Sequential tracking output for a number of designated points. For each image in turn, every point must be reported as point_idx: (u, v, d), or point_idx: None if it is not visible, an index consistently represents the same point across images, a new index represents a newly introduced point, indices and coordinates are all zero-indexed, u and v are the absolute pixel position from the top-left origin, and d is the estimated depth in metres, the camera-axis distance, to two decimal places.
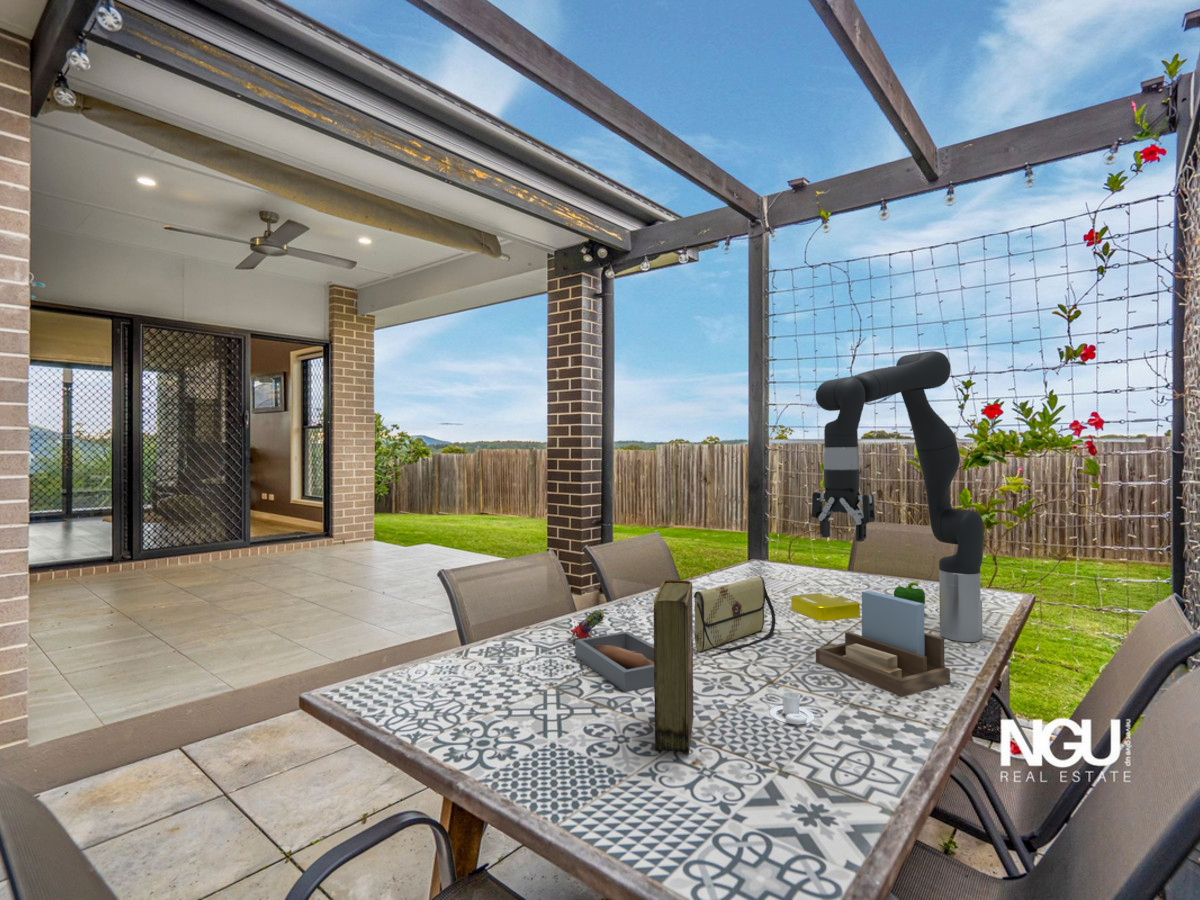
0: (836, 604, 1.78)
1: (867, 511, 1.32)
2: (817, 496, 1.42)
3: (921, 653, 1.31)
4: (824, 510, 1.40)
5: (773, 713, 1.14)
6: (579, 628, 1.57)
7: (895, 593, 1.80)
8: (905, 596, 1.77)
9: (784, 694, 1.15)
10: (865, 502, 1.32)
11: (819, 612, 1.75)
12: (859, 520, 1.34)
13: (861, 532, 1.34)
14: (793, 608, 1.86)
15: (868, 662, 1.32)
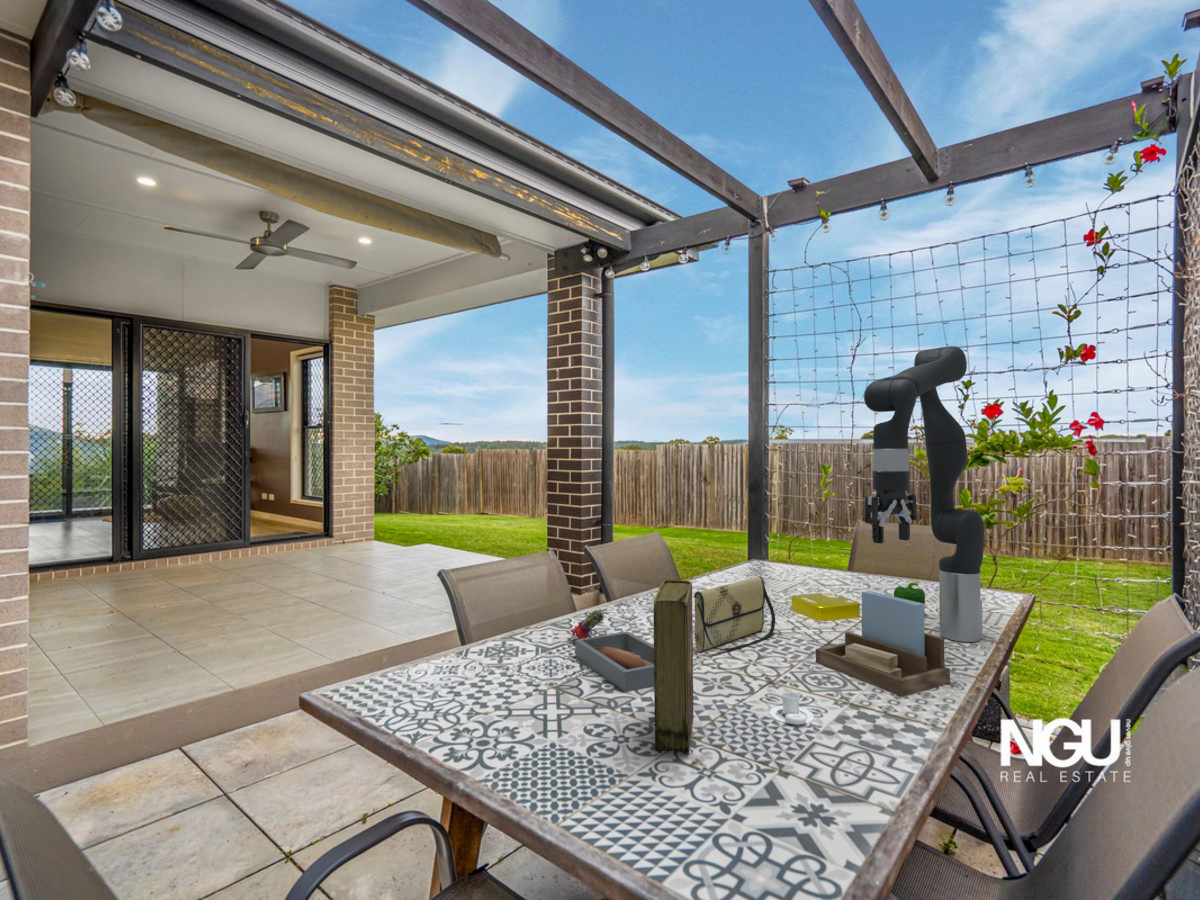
0: (836, 604, 1.78)
1: (915, 509, 1.39)
2: None
3: (921, 653, 1.31)
4: (887, 514, 1.34)
5: (773, 713, 1.14)
6: (579, 628, 1.57)
7: (895, 593, 1.80)
8: (905, 596, 1.77)
9: (784, 694, 1.15)
10: (914, 501, 1.39)
11: (819, 612, 1.75)
12: (910, 519, 1.38)
13: (909, 531, 1.39)
14: (793, 608, 1.86)
15: (869, 662, 1.32)
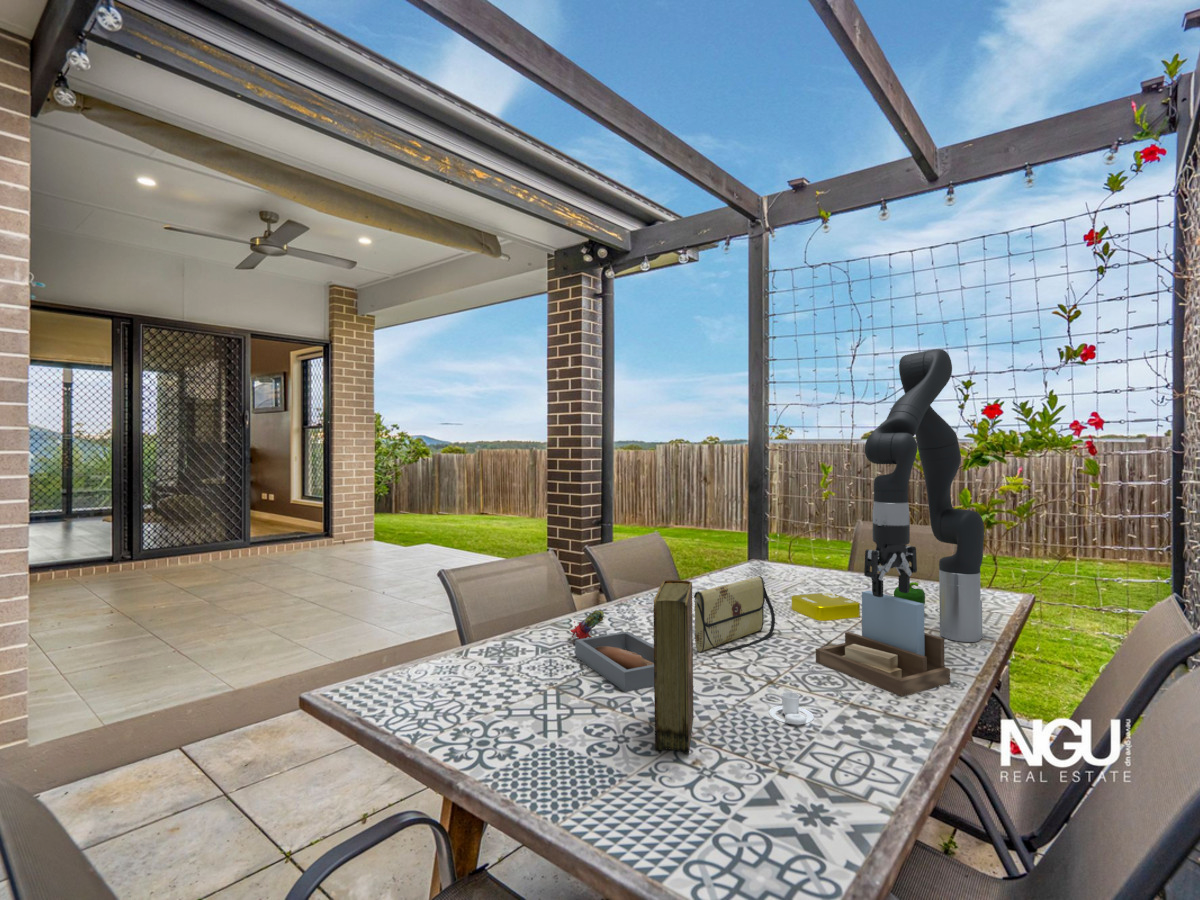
0: (836, 604, 1.78)
1: (915, 562, 1.39)
2: None
3: (921, 653, 1.31)
4: (887, 568, 1.34)
5: (772, 713, 1.14)
6: (579, 628, 1.57)
7: (895, 593, 1.80)
8: (905, 596, 1.77)
9: (783, 694, 1.15)
10: (914, 553, 1.39)
11: (819, 612, 1.75)
12: (910, 572, 1.38)
13: (908, 583, 1.39)
14: (793, 608, 1.87)
15: (869, 662, 1.32)
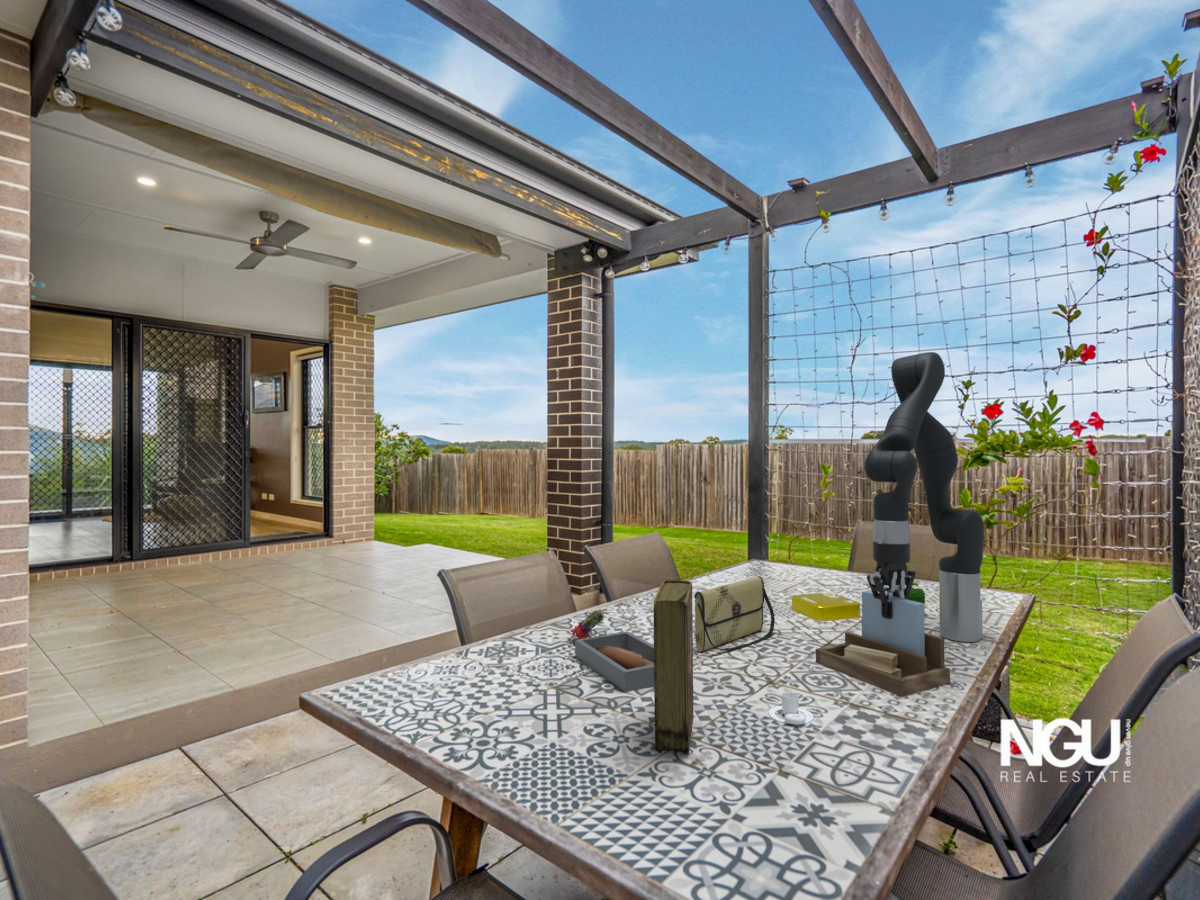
0: (836, 604, 1.78)
1: (910, 587, 1.38)
2: None
3: (921, 653, 1.31)
4: (892, 589, 1.35)
5: (772, 713, 1.14)
6: (579, 628, 1.57)
7: None
8: (905, 596, 1.77)
9: (783, 694, 1.15)
10: (912, 578, 1.38)
11: (819, 612, 1.76)
12: (903, 596, 1.37)
13: None
14: (793, 608, 1.87)
15: (870, 663, 1.32)
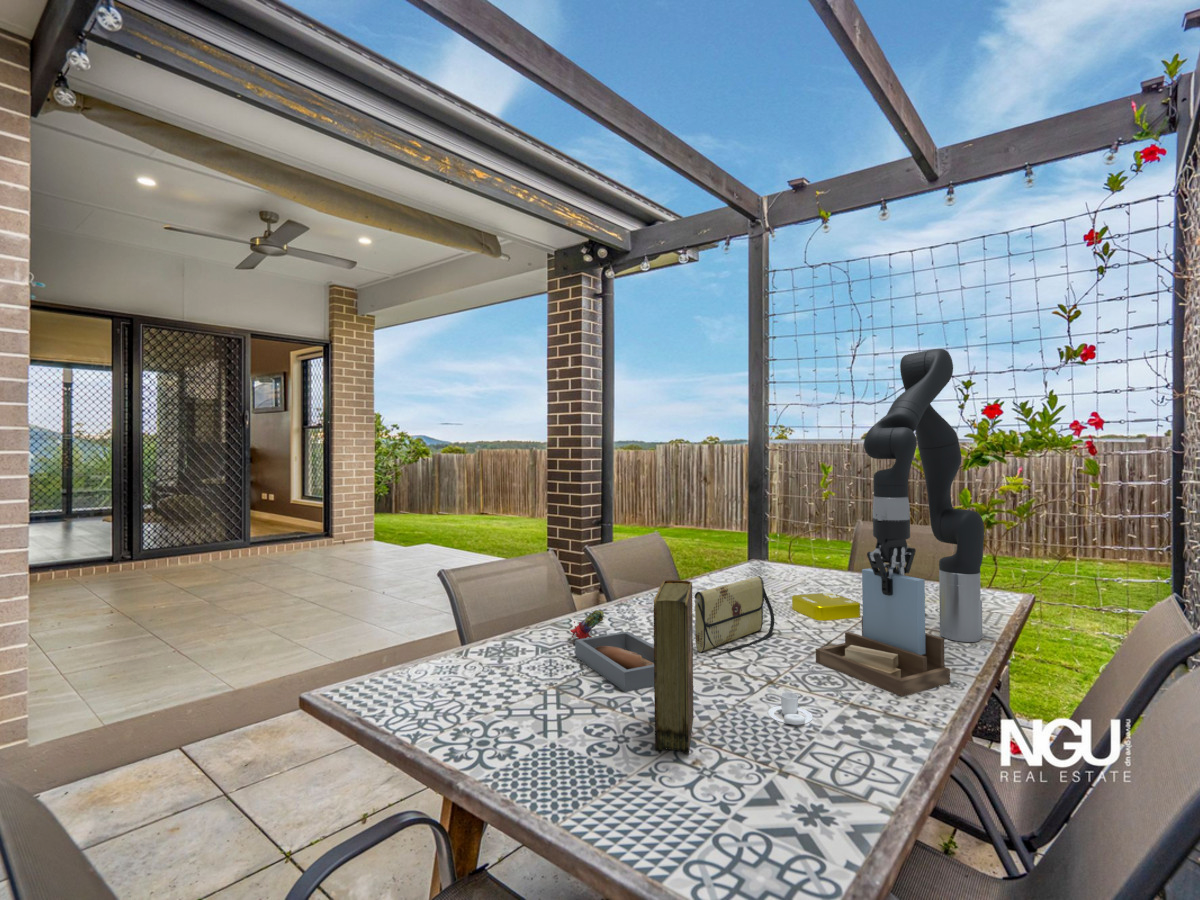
0: (836, 604, 1.78)
1: (911, 563, 1.38)
2: None
3: (922, 629, 1.31)
4: (892, 566, 1.35)
5: (771, 713, 1.14)
6: (579, 628, 1.57)
7: None
8: None
9: (782, 694, 1.15)
10: (912, 555, 1.38)
11: (818, 612, 1.76)
12: (903, 573, 1.37)
13: None
14: (794, 608, 1.87)
15: (871, 663, 1.32)
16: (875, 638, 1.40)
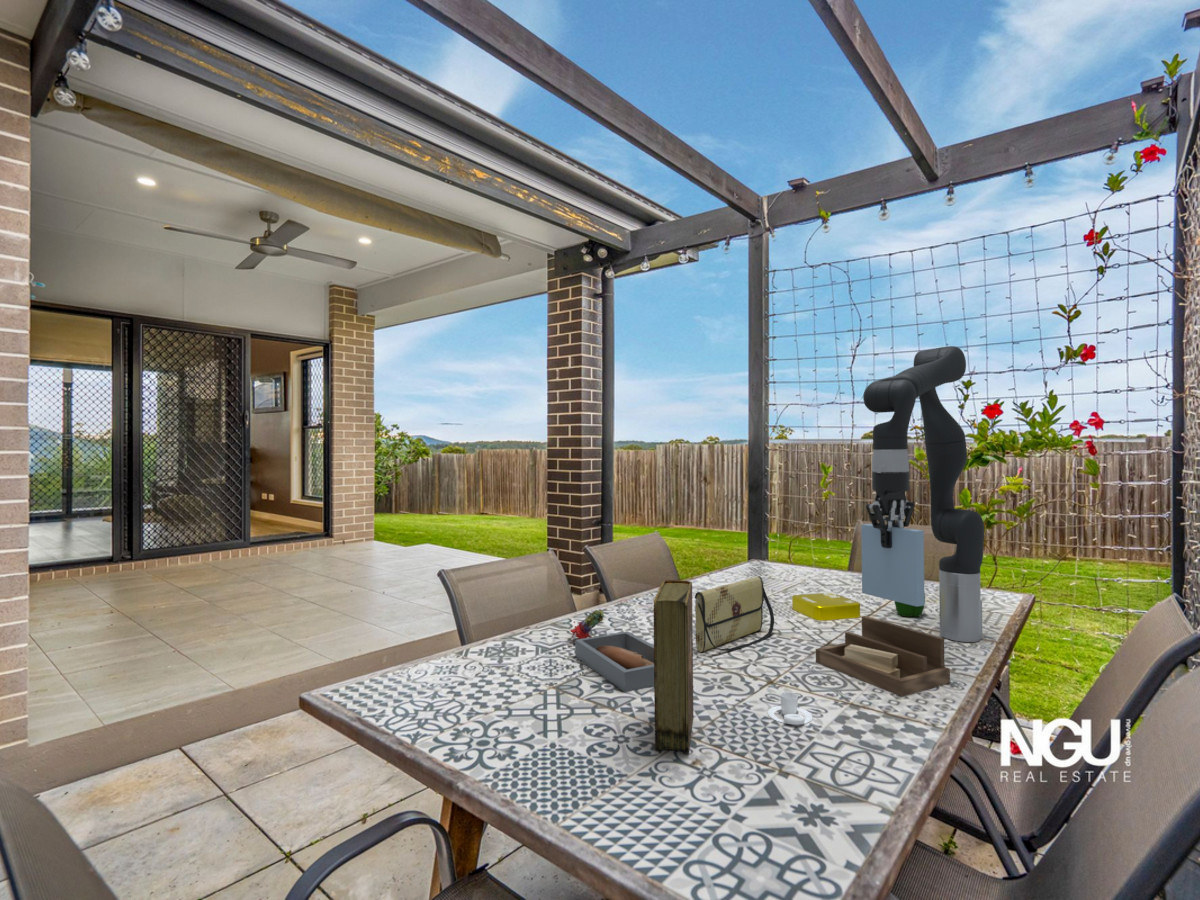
0: (836, 604, 1.78)
1: (910, 517, 1.38)
2: None
3: (921, 580, 1.31)
4: (892, 518, 1.35)
5: (771, 713, 1.14)
6: (579, 628, 1.57)
7: None
8: None
9: (782, 694, 1.15)
10: (912, 509, 1.38)
11: (818, 612, 1.76)
12: (902, 526, 1.37)
13: None
14: (794, 607, 1.87)
15: (870, 662, 1.32)
16: (874, 592, 1.40)
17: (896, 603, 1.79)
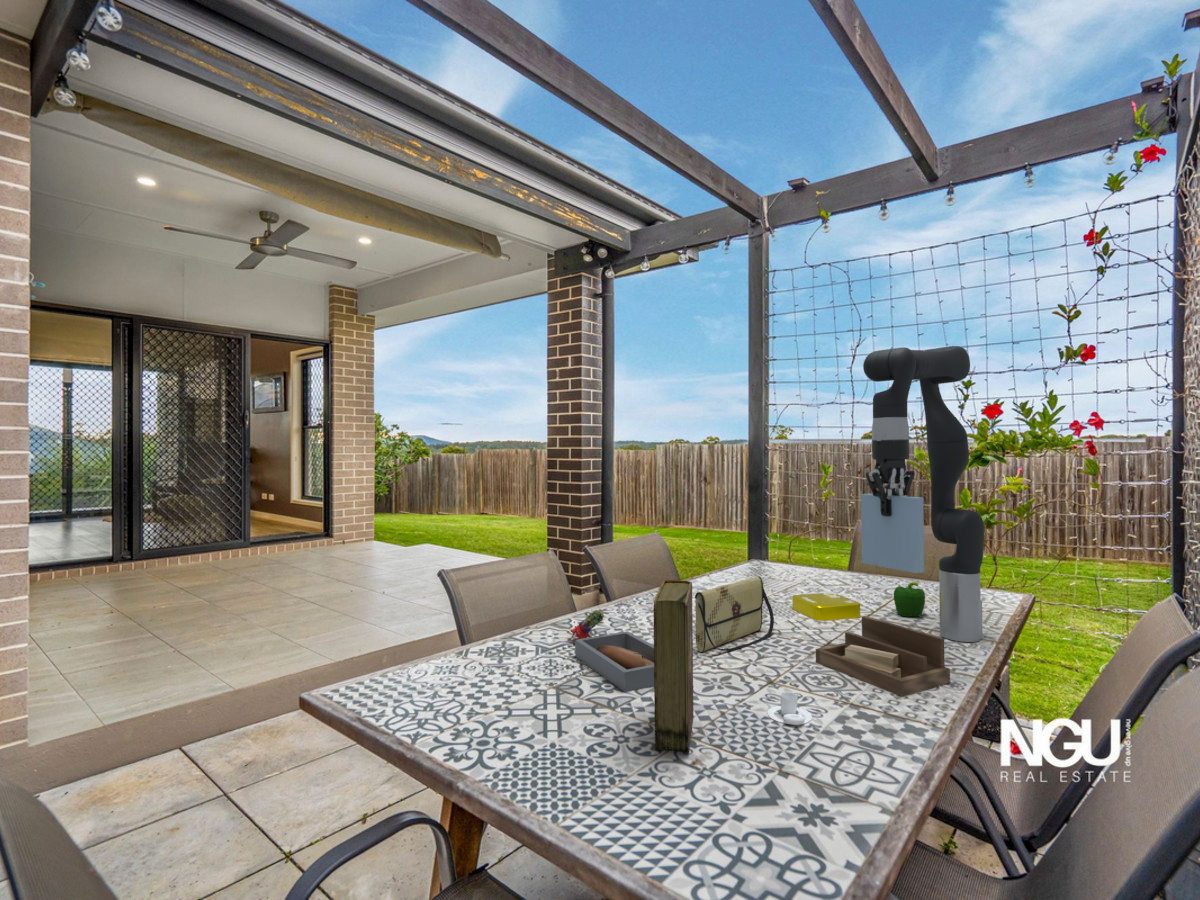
0: (835, 604, 1.78)
1: (910, 486, 1.38)
2: None
3: (920, 546, 1.31)
4: (891, 486, 1.35)
5: (771, 713, 1.14)
6: (579, 628, 1.57)
7: (895, 593, 1.80)
8: (905, 596, 1.77)
9: (782, 694, 1.15)
10: (911, 477, 1.38)
11: (818, 612, 1.76)
12: (902, 495, 1.37)
13: None
14: (794, 607, 1.87)
15: (871, 663, 1.32)
16: (874, 561, 1.40)
17: (896, 603, 1.79)
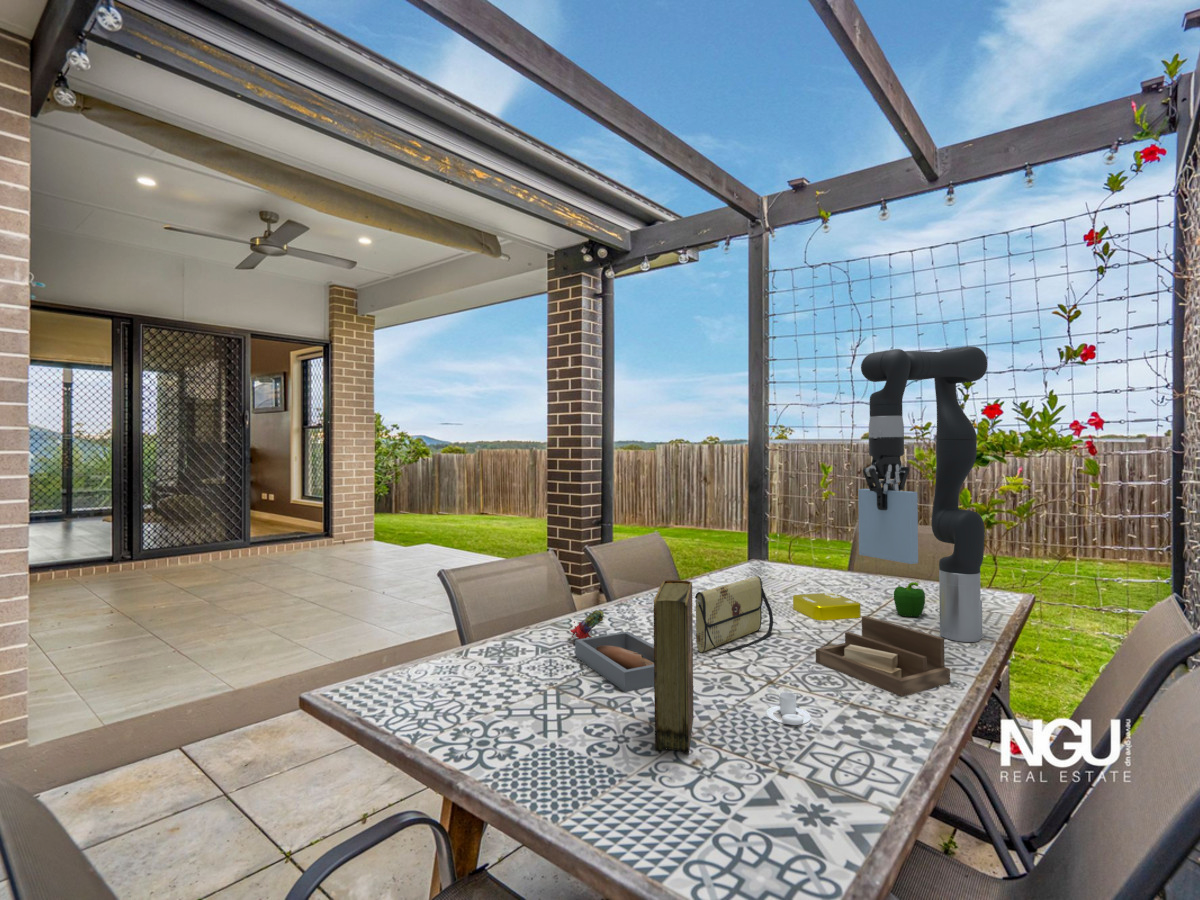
0: (835, 604, 1.78)
1: (905, 481, 1.45)
2: None
3: (914, 539, 1.38)
4: (887, 481, 1.41)
5: (770, 713, 1.14)
6: (579, 628, 1.57)
7: (895, 593, 1.80)
8: (905, 596, 1.77)
9: (781, 694, 1.15)
10: (906, 473, 1.45)
11: (817, 612, 1.76)
12: (897, 489, 1.44)
13: None
14: (794, 607, 1.87)
15: (870, 663, 1.32)
16: (870, 553, 1.46)
17: (896, 603, 1.79)
